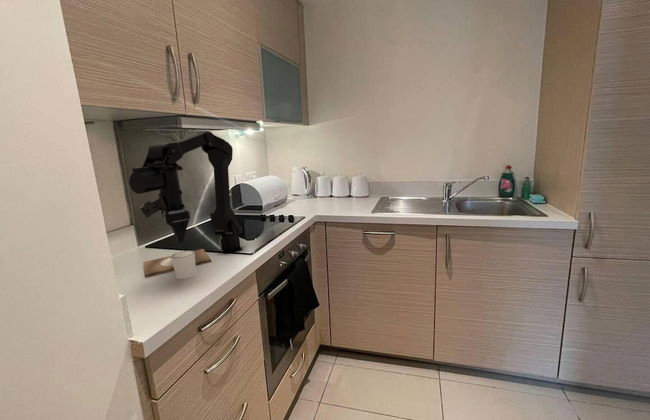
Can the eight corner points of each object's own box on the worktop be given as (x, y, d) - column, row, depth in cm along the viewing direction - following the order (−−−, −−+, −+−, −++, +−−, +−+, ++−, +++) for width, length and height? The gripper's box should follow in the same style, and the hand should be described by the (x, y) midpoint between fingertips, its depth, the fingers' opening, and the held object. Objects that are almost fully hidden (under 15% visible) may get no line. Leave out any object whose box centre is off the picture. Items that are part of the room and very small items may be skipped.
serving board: (203, 251, 123) (203, 248, 122) (211, 261, 111) (210, 258, 110) (143, 264, 113) (143, 261, 113) (145, 277, 101) (144, 274, 101)
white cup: (169, 277, 100) (165, 256, 98) (189, 269, 105) (186, 249, 104) (183, 281, 96) (178, 259, 94) (202, 273, 101) (199, 251, 100)
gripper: (137, 188, 98) (147, 237, 102) (138, 195, 82) (150, 253, 86) (176, 183, 104) (185, 230, 107) (185, 189, 88) (195, 244, 91)
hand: (178, 238), depth 98 cm, fingers open, 9 cm apart
